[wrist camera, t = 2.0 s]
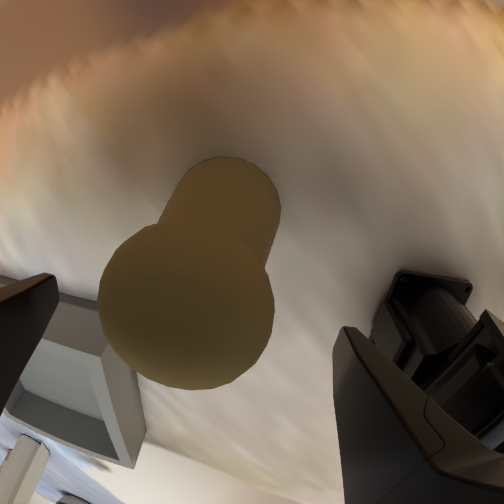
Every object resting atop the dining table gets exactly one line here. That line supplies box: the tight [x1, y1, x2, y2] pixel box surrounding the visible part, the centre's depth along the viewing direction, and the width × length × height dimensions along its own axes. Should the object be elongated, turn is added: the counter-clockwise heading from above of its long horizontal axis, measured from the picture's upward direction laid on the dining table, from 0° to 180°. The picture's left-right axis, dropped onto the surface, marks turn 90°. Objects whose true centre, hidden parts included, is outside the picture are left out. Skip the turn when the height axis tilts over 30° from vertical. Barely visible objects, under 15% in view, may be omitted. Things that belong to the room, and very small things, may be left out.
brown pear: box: [97, 157, 281, 390], centre depth 13 cm, size 6×6×11 cm
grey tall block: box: [0, 435, 50, 504], centre depth 26 cm, size 7×6×21 cm
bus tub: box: [0, 275, 146, 469], centre depth 22 cm, size 16×16×5 cm
